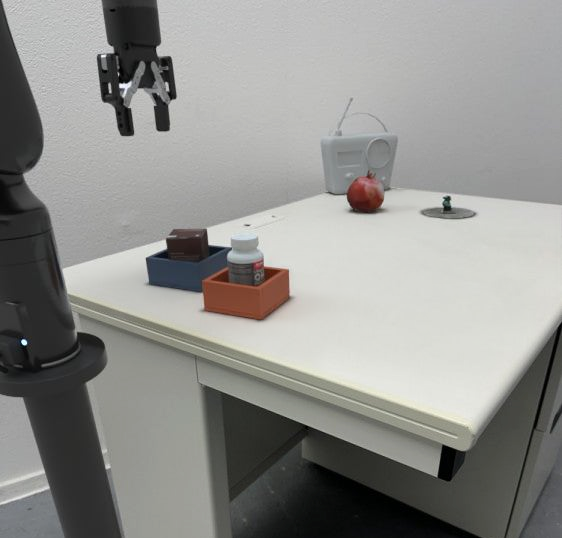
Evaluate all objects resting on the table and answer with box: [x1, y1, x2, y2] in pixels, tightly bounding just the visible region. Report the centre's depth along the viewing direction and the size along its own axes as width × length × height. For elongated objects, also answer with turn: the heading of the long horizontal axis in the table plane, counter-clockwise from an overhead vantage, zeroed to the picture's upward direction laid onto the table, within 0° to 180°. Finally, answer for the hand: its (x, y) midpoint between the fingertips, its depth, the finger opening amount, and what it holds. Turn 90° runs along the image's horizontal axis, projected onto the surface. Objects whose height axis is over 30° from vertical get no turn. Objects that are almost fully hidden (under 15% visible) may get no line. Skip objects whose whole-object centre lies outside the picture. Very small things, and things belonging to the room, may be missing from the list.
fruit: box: [346, 170, 385, 213], centre depth 136 cm, size 9×10×10 cm
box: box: [165, 228, 210, 263], centre depth 93 cm, size 6×6×7 cm
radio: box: [320, 96, 399, 195], centre depth 155 cm, size 22×8×25 cm, turn 109°
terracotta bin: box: [202, 265, 291, 320], centre depth 82 cm, size 10×10×5 cm
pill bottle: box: [227, 232, 265, 287], centre depth 81 cm, size 5×5×10 cm
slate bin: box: [144, 244, 233, 293], centre depth 94 cm, size 11×11×5 cm
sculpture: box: [422, 195, 475, 219], centre depth 133 cm, size 12×9×8 cm
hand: (146, 133), depth 83 cm, fingers open, 8 cm apart
